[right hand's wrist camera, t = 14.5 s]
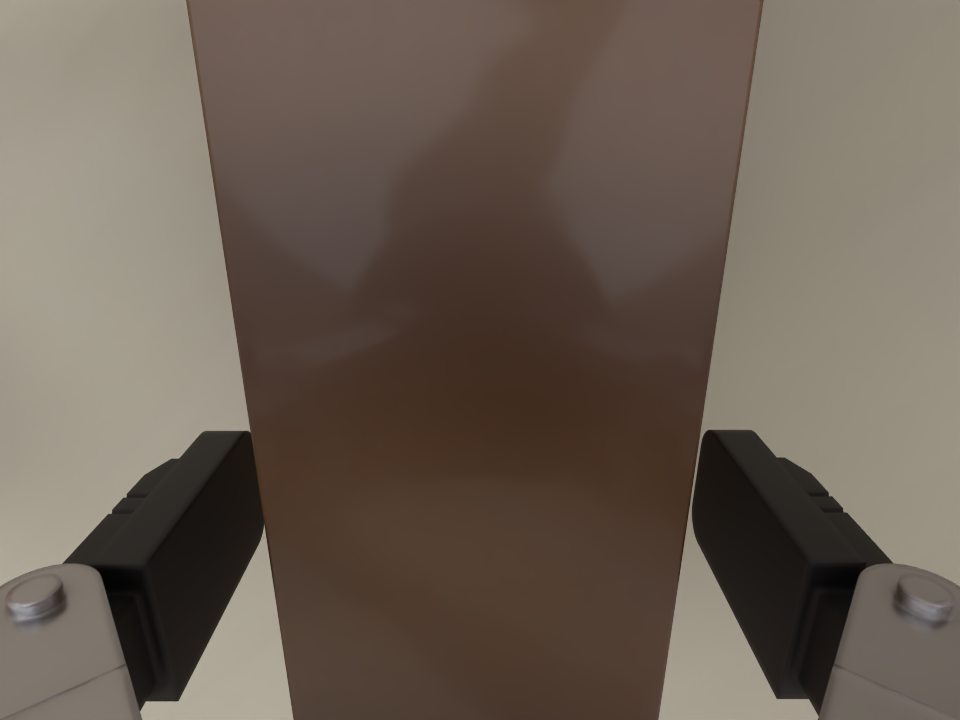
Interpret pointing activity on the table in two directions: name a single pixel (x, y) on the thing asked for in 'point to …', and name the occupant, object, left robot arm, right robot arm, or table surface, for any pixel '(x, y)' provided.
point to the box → (475, 332)
